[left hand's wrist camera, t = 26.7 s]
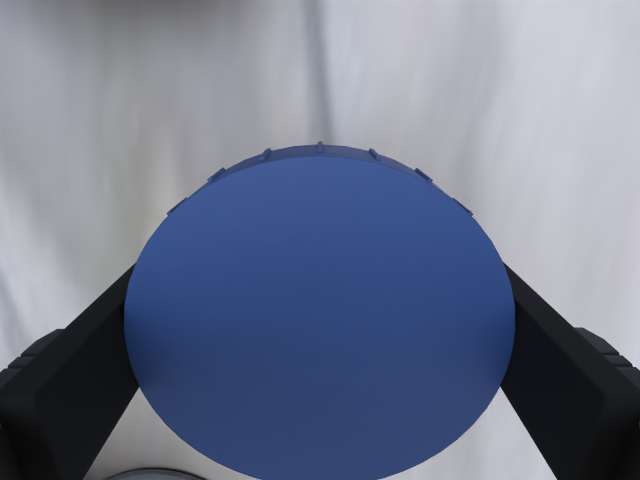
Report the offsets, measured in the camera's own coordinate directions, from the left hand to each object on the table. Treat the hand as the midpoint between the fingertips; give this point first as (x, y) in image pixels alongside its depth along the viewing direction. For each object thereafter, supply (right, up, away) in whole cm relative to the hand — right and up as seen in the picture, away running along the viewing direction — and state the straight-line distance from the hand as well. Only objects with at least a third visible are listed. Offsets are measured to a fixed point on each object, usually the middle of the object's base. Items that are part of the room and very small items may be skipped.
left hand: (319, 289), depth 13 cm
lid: (0, -1, -3) cm, 3 cm away
